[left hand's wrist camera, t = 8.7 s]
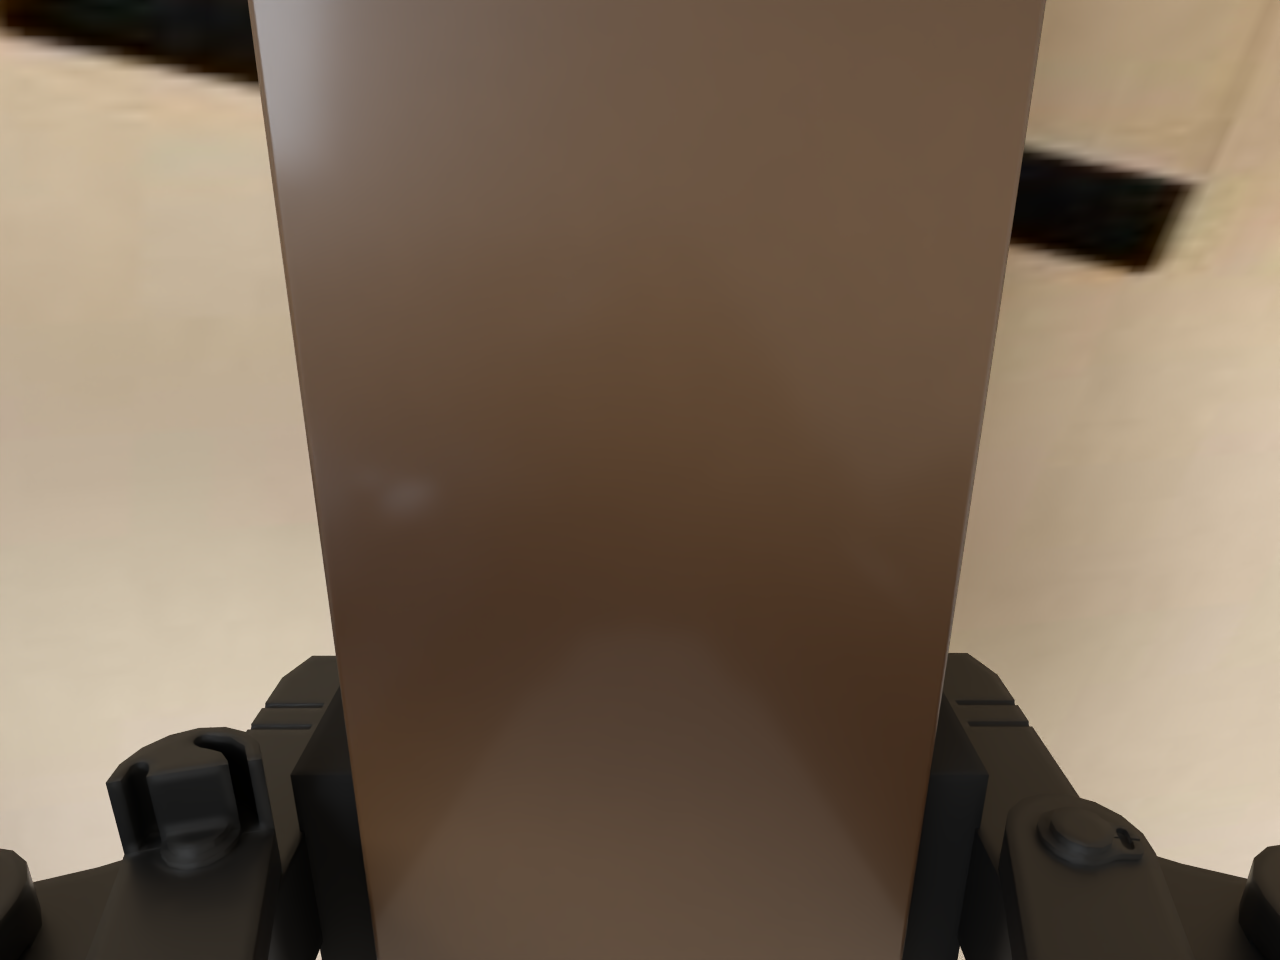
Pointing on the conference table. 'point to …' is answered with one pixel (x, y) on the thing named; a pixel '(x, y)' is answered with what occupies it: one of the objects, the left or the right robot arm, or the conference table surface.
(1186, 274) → the conference table surface
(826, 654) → the beam
